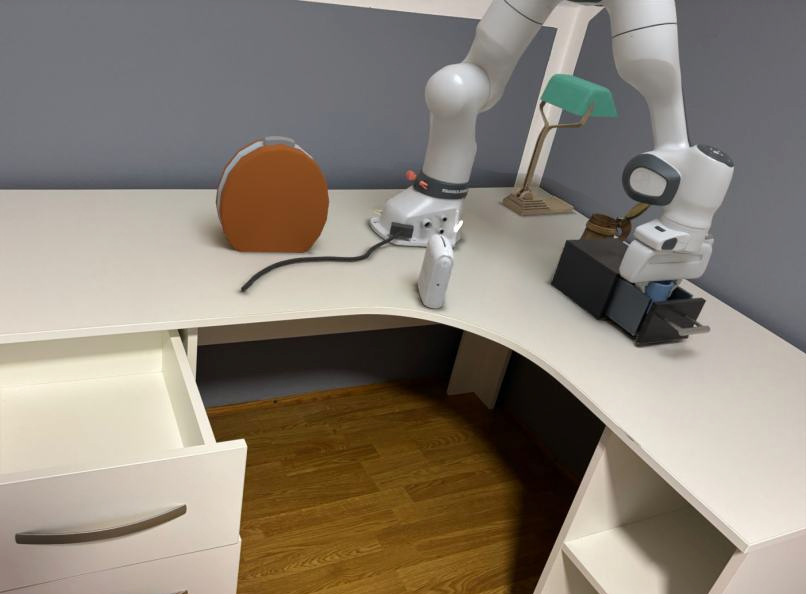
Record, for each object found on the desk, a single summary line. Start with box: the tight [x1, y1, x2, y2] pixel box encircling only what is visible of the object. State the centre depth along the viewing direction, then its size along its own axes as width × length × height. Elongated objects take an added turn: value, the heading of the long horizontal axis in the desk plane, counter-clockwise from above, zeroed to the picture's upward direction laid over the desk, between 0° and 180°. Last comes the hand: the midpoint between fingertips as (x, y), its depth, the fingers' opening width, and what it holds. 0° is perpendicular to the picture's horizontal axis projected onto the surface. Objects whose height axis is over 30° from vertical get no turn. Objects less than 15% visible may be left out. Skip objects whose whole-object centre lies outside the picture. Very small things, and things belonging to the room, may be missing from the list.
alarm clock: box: [215, 135, 330, 254], centre depth 143 cm, size 22×10×23 cm, turn 108°
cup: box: [645, 280, 674, 314], centre depth 139 cm, size 6×6×6 cm
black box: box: [550, 237, 629, 320], centre depth 150 cm, size 16×15×11 cm
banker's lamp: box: [501, 73, 619, 217], centre depth 190 cm, size 16×21×35 cm
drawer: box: [603, 277, 711, 345], centre depth 139 cm, size 20×13×9 cm
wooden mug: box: [579, 202, 653, 243], centre depth 165 cm, size 9×14×18 cm, turn 77°
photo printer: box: [417, 234, 455, 309], centre depth 137 cm, size 10×4×12 cm, turn 3°
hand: (650, 297), depth 140 cm, fingers closed on cup, 6 cm apart
